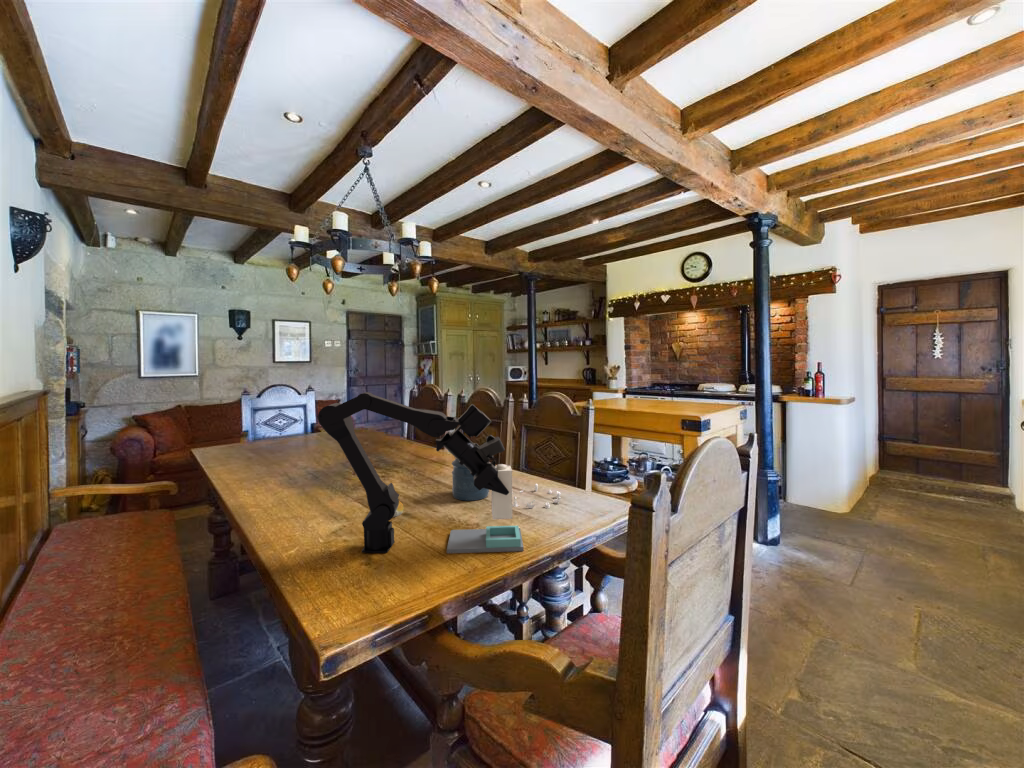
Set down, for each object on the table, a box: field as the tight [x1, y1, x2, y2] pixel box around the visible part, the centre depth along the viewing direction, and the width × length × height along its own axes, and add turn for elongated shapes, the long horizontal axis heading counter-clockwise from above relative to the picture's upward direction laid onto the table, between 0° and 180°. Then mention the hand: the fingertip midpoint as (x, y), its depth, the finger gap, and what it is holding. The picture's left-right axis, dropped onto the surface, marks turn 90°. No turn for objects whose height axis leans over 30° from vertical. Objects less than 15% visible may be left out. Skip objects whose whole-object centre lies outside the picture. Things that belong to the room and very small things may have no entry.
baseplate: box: [446, 525, 524, 554], centre depth 112 cm, size 19×12×3 cm, turn 93°
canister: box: [451, 456, 490, 502], centre depth 149 cm, size 13×13×18 cm
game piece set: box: [512, 483, 562, 509], centre depth 145 cm, size 19×20×4 cm
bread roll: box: [393, 500, 405, 518], centre depth 133 cm, size 8×9×4 cm
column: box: [491, 463, 513, 520], centre depth 111 cm, size 5×5×13 cm
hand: (506, 490), depth 111 cm, fingers closed on column, 5 cm apart
